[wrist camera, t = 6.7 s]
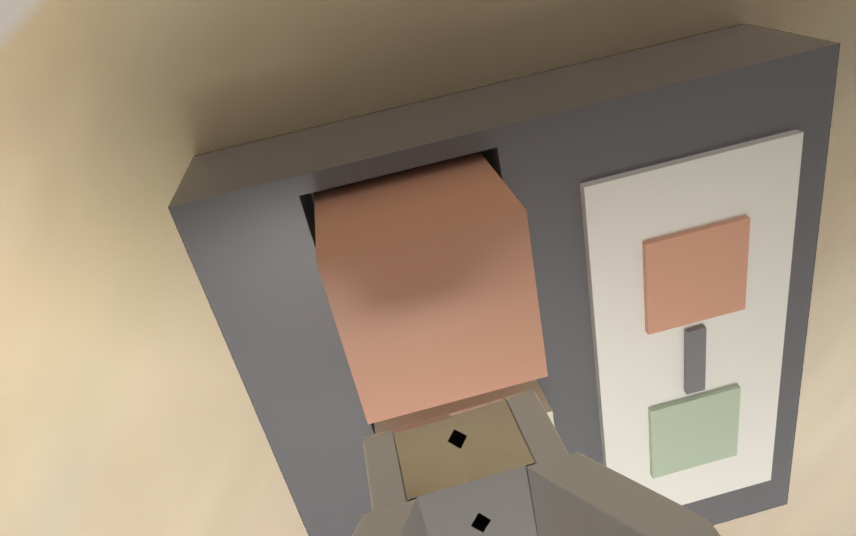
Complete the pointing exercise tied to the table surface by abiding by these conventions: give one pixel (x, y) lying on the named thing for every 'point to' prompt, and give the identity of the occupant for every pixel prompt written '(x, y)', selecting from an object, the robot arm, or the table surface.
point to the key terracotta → (430, 285)
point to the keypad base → (564, 261)
